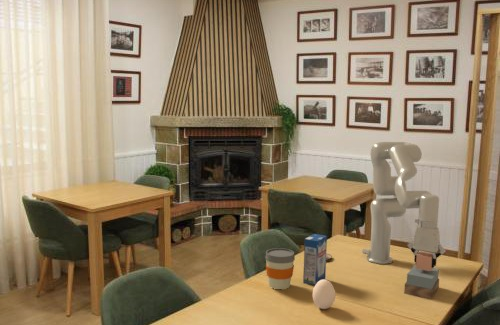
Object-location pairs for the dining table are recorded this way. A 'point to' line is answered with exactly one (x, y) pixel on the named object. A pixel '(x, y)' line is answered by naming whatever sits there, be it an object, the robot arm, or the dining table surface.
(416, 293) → the walnut base block
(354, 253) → the dining table surface
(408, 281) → the slate top block
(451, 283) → the dining table surface
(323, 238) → the milk carton
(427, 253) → the terracotta block
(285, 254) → the reusable coffee cup
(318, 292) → the egg
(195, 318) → the dining table surface
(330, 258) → the burger
